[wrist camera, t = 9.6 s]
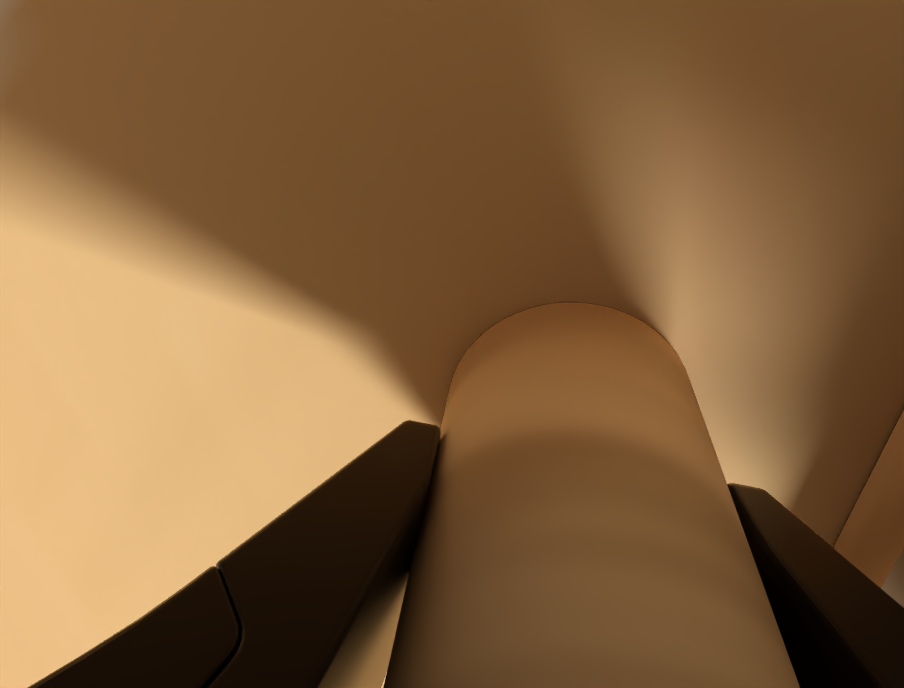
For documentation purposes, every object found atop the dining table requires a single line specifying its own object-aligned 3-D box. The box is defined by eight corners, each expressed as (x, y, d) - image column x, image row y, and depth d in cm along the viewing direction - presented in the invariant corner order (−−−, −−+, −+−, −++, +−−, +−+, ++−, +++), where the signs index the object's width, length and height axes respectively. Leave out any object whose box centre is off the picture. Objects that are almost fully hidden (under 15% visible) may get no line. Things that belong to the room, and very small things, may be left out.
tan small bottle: (654, 529, 11) (822, 1380, 4) (431, 487, 11) (265, 1259, 4) (728, 330, 9) (1158, 1164, 3) (469, 279, 9) (306, 982, 3)
